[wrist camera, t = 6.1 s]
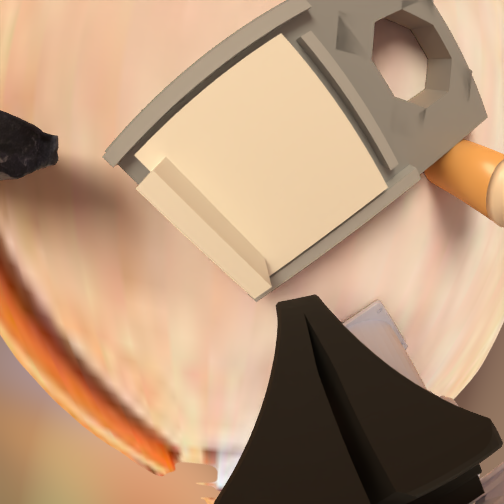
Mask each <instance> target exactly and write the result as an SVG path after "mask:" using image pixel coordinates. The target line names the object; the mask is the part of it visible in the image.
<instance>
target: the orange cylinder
mask: <svg viewBox="0 0 504 504" xmlns="http://www.w3.org/2000/svg"><path fill="white" fill-rule="evenodd" d="M424 173H425V175H426V177H427V179H428V180H429V181H430V182H431V183H433V184H435V185H437V186H438V187H440V188H442V189H443V190H445V191H447V192H449V193H450V194H452V195H454V196H455V197H457V198H458V199H460V200H462V201H463V202H465V203H466V204H468V205H469V206H471V207H472V208H474V209H476V210H477V211H479V212H480V213H481V214H483V215H484V216H486V217H487V218H489V219H490V220H492V221H493V222H494V223H496V224H497V225H499V226H500V227H504V154H501V153H499V152H497V151H494V150H492V149H489V148H487V147H484V146H481V145H479V144H476V143H473V142H471V141H468V140H465V139H462V140H461V141H460V142H459V143H457V144H456V145H455V146H454V147H453V148H451V149H450V150H449V151H448V152H447V153H446V154H444V155H443V156H442V157H441V158H440V159H438V160H437V161H436V162H435V163H433V164H432V165H431V166H430V167H429V168H427V169H426V170H425V171H424Z"/></svg>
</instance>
